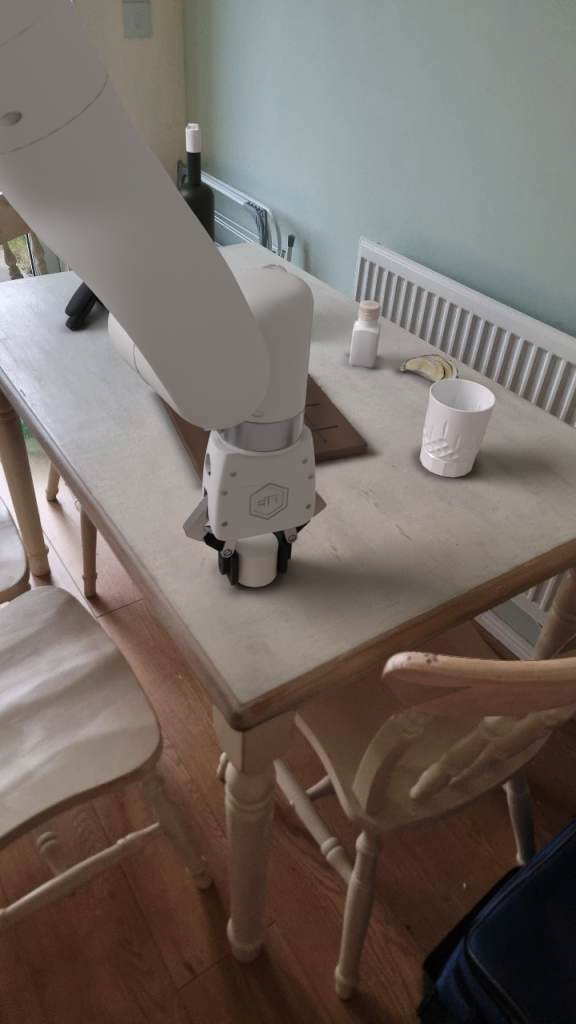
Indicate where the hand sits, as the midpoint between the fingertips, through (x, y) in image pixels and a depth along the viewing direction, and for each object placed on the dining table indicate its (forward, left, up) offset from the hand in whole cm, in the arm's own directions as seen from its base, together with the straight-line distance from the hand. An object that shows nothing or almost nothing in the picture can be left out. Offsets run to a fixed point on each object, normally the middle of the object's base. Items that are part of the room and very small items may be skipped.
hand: (254, 568), depth 72 cm
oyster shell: (+39, +30, -1) cm, 49 cm away
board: (+10, +27, -1) cm, 29 cm away
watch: (+22, +53, -1) cm, 57 cm away
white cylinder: (0, 0, 0) cm, 0 cm away
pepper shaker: (+32, +39, -1) cm, 51 cm away
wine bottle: (+11, +59, -1) cm, 60 cm away
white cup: (+30, +11, -1) cm, 32 cm away
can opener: (-5, +69, -1) cm, 69 cm away
